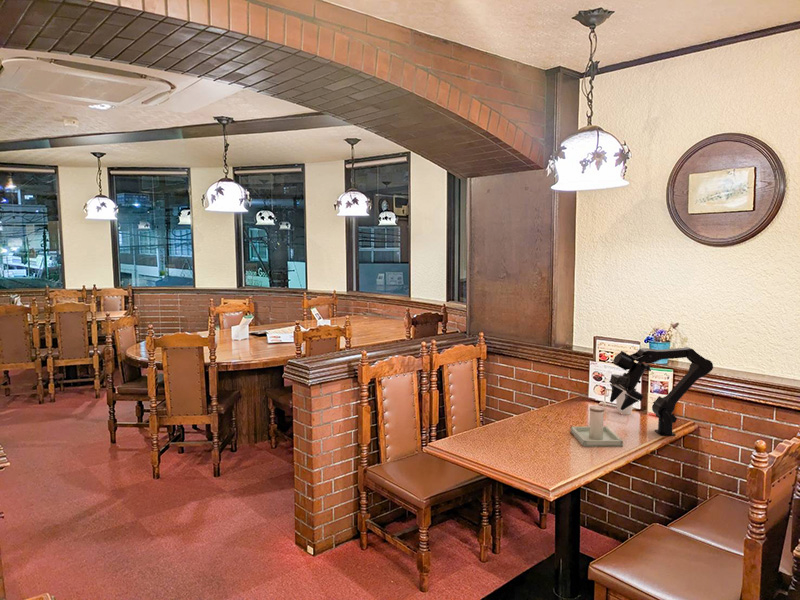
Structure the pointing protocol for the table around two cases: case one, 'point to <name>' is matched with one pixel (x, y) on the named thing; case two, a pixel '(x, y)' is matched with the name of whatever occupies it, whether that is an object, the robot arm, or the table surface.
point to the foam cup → (620, 401)
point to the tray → (583, 437)
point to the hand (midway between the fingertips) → (616, 405)
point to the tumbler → (596, 422)
